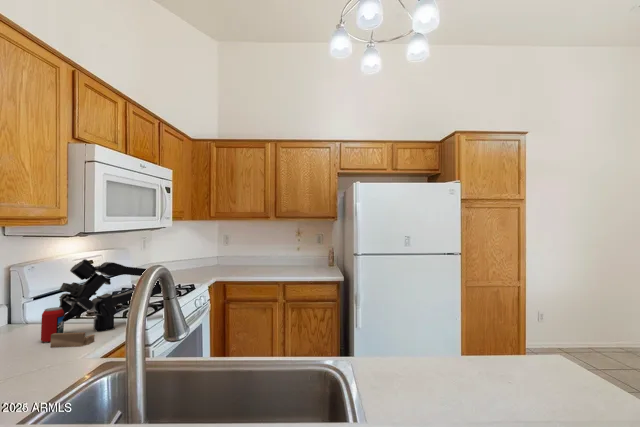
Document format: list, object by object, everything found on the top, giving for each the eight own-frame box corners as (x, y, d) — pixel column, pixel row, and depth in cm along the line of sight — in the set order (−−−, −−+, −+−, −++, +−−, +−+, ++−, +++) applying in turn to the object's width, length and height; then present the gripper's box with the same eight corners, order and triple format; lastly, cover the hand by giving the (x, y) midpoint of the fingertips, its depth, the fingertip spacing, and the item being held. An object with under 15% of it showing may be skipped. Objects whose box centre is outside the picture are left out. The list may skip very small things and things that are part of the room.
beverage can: (64, 340, 127) (66, 308, 128) (42, 344, 122) (43, 311, 123) (61, 336, 132) (62, 306, 133) (39, 340, 127) (40, 308, 128)
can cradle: (60, 342, 124) (60, 330, 125) (94, 341, 125) (94, 329, 125) (48, 347, 119) (48, 334, 119) (84, 346, 119) (84, 333, 120)
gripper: (65, 273, 140) (31, 305, 130) (85, 275, 129) (49, 310, 119) (86, 289, 146) (55, 321, 136) (107, 293, 135) (74, 327, 125)
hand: (58, 319), depth 129 cm, fingers open, 9 cm apart
